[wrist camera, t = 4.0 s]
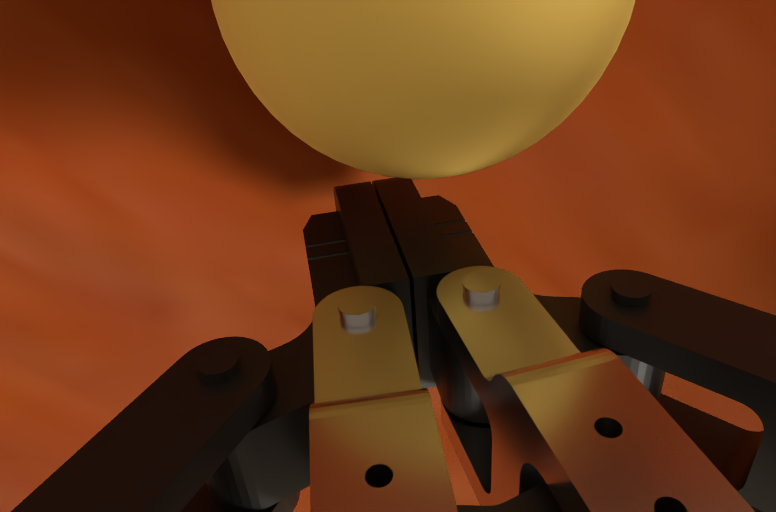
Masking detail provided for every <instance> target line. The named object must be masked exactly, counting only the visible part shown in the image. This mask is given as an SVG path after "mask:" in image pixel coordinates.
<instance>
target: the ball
mask: <svg viewBox="0 0 776 512" xmlns="http://www.w3.org/2000/svg"><path fill="white" fill-rule="evenodd" d="M635 1H636V0H211V2H212V7H213V11H214V14H215V17H216V20H217V23H218V26H219V29H220V32H221V35H222V38H223V40H224V42H225V44H226V46H227V48H228V50H229V52H230V55H231V57H232V59H233V61H234V63H235V65H236V67H237V68H238V70H239V71H240V73H241V74H242V76H243V78H244V79H245V81H246V82H247V84H248V85H249V87H250V88H251V90H252V91H253V93H254V94H255V95H256V96H257V98H258V99H259V100H260V101H261V102H262V104H263V105H264V106H265V107H266V108H267V110H268V111H269V112H270V113H271V114H272V115H273V116H274V117H275V118H276V119H277V120H278V121H279V122H280V123H281V124H282V125H284V126H285V127H286V128H287V129H288V130H289V131H290V132H291V133H292V134H294V135H295V136H296V137H298V138H299V139H301V140H302V141H303V142H305V143H306V144H308V145H309V146H311V147H312V148H313V149H315V150H317V151H319V152H321V153H323V154H324V155H326V156H328V157H330V158H332V159H334V160H336V161H338V162H340V163H343V164H346V165H348V166H351V167H354V168H356V169H359V170H362V171H366V172H370V173H374V174H379V175H383V176H387V177H397V178H408V179H429V178H442V177H449V176H457V175H463V174H466V173H470V172H473V171H476V170H480V169H483V168H487V167H490V166H492V165H494V164H497V163H499V162H501V161H503V160H506V159H508V158H510V157H513V156H515V155H516V154H518V153H520V152H521V151H523V150H525V149H526V148H528V147H530V146H531V145H533V144H535V143H536V142H538V141H539V140H541V139H542V138H543V137H544V136H546V135H547V134H548V133H549V132H551V131H552V130H553V129H554V128H556V127H557V126H558V125H560V124H561V123H562V122H563V121H564V120H565V119H566V118H567V117H568V116H569V115H570V114H571V113H572V112H573V111H574V110H575V109H576V108H577V107H578V106H579V105H580V104H581V102H582V101H583V100H584V99H585V97H586V96H587V95H588V93H589V92H590V91H591V89H592V88H593V87H594V86H595V84H596V83H597V82H598V80H599V79H600V78H601V76H602V74H603V73H604V71H605V69H606V68H607V66H608V64H609V63H610V61H611V59H612V57H613V56H614V54H615V52H616V51H617V48H618V46H619V44H620V42H621V39H622V37H623V35H624V32H625V30H626V28H627V26H628V23H629V21H630V17H631V14H632V11H633V7H634V4H635Z"/></svg>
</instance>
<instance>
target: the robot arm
mask: <svg viewBox="0 0 776 512" xmlns="http://www.w3.org/2000/svg"><path fill="white" fill-rule="evenodd" d="M334 196H335V204H336V212H329V213H323V214H316V215H311V217H310V219H309V221H308V222H307V224H306V226H305V227H304V229H303V233H304V239H305V245H306V252H307V258H308V264H309V270H310V276H311V283H312V289H313V295H314V301H315V310H314V312H313V321H312V323H311V324H310V325H309V327H308V328H307V329H306V330H305V331H304V332H303V333H302V334H301V335H299V336H298V337H297V338H295V339H293V340H292V341H290V342H288V343H286V344H284V345H282V346H279V347H277V348H275V349H272V350H270V351H267V349H266V348H265V347H264V346H263V345H262V344H260V343H259V342H257V341H255V340H253V339H249V338H245V337H224V338H219V339H215V340H211V341H208V342H205V343H203V344H201V345H199V346H197V347H195V348H193V349H192V350H190V351H189V352H187V353H186V354H185V355H184V356H182V357H181V358H180V359H179V360H178V361H177V362H176V363H175V364H174V365H172V366H171V367H170V368H169V369H168V370H167V371H166V372H165V373H164V374H162V375H161V376H160V377H159V378H158V379H157V380H156V381H155V382H154V383H153V384H151V385H150V386H149V387H148V388H147V389H146V390H145V391H144V392H143V393H141V394H140V395H139V396H138V397H137V398H136V399H135V400H134V401H133V402H132V403H130V404H129V405H128V406H127V407H126V408H125V409H124V410H123V411H122V412H120V413H119V414H118V415H117V416H116V417H115V418H114V419H113V420H112V421H111V422H109V423H108V424H107V425H106V426H105V427H104V428H103V429H102V430H101V431H99V432H98V433H97V434H96V435H95V436H94V437H93V438H92V439H91V440H90V441H88V442H87V443H86V444H85V445H84V446H83V447H82V448H81V449H80V450H78V451H77V452H76V453H75V454H74V455H73V456H72V457H71V458H70V459H69V460H67V461H66V462H65V463H64V464H63V465H62V466H61V467H60V468H59V469H57V470H56V471H55V472H54V473H53V474H52V475H51V476H50V477H49V478H48V479H46V480H45V481H44V482H43V483H42V484H41V485H40V486H39V487H38V488H36V489H35V490H34V491H33V492H32V493H31V494H30V495H29V496H28V497H27V498H25V499H24V500H23V501H22V502H21V503H20V504H19V505H18V506H17V507H15V508H14V509H13V510H12V511H11V512H293V510H294V509H295V507H296V505H297V502H298V500H299V495H300V490H302V489H304V488H306V487H308V486H310V503H311V512H776V316H775V315H772V314H769V313H766V312H763V311H760V310H757V309H754V308H751V307H748V306H745V305H742V304H739V303H736V302H733V301H730V300H727V299H724V298H720V297H717V296H714V295H711V294H708V293H705V292H702V291H699V290H696V289H693V288H690V287H687V286H684V285H681V284H678V283H675V282H672V281H668V280H665V279H662V278H659V277H656V276H653V275H650V274H647V273H643V272H639V271H633V270H609V271H604V272H601V273H598V274H595V275H593V276H592V277H590V278H589V279H588V280H587V281H586V282H585V283H584V285H583V287H582V294H581V298H579V297H551V296H540V295H534V294H532V292H531V291H530V290H529V289H528V288H527V286H526V285H525V284H524V283H523V281H522V280H521V279H520V278H519V277H517V276H516V275H514V274H513V273H511V272H509V271H506V270H504V269H500V268H496V267H494V266H493V264H492V263H491V261H490V259H489V258H488V256H487V255H486V253H485V251H484V250H483V248H482V247H481V245H480V243H479V242H478V240H477V238H476V237H475V235H474V234H473V233H472V230H471V229H470V227H469V226H468V224H467V222H465V219H464V218H463V216H462V214H461V213H460V211H459V209H458V208H457V206H456V205H454V204H453V203H451V202H449V201H447V200H446V199H444V198H442V197H441V196H439V195H437V196H431V197H424V198H421V197H420V195H419V193H418V191H417V189H416V187H415V185H414V183H413V182H412V180H411V179H408V178H397V177H396V178H389V179H382V180H376V181H373V182H372V184H371V182H363V183H357V184H350V185H343V186H337V187H334ZM665 372H668V373H670V374H673V375H675V376H677V377H680V378H682V379H685V380H687V381H690V382H692V383H694V384H697V385H699V386H702V387H704V388H707V389H709V390H711V391H714V392H716V393H719V394H721V395H724V396H726V397H728V398H731V399H733V400H736V401H738V402H740V403H743V404H745V405H746V406H748V407H749V408H751V409H752V410H753V411H754V412H755V413H756V414H757V415H758V416H759V418H760V419H761V421H762V423H763V426H764V431H761V432H753V431H748V430H745V429H742V428H740V427H737V426H735V425H733V424H730V423H728V422H726V421H723V420H721V419H719V418H717V417H714V416H712V415H710V414H707V413H705V412H703V411H700V410H698V409H696V408H693V407H691V406H689V405H686V404H684V403H682V402H680V401H677V400H675V399H673V398H670V397H668V396H666V395H663V394H661V390H662V386H663V381H664V377H665ZM435 386H437V388H438V391H439V394H440V397H441V417H442V422H443V425H444V428H445V430H446V432H447V434H448V436H449V438H450V441H451V443H452V445H453V447H454V449H455V451H456V454H457V456H458V458H459V460H460V462H461V464H462V467H463V469H464V471H465V473H466V475H467V477H468V480H469V482H470V484H471V486H472V488H473V490H474V493H475V495H476V497H477V499H478V501H479V503H480V506H472V505H456V501H455V497H454V493H453V489H452V485H451V481H450V476H449V472H448V468H447V464H446V460H445V456H444V452H443V447H442V443H441V439H440V435H439V431H438V427H437V423H436V418H435V414H434V410H433V406H432V402H431V398H430V395H429V392H428V389H427V388H430V387H435Z"/></svg>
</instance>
